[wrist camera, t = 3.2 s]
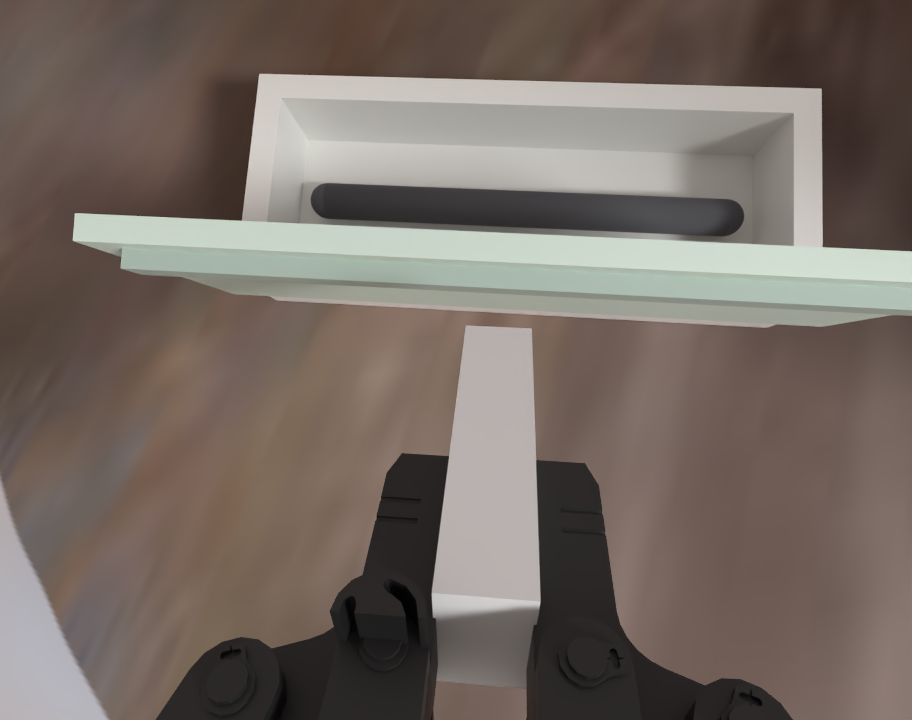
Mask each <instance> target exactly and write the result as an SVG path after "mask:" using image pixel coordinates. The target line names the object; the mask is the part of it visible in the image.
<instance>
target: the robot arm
mask: <svg viewBox="0 0 912 720" xmlns="http://www.w3.org/2000/svg"><path fill="white" fill-rule="evenodd" d="M330 613H331V617H332V621H333V624H334V627H333V628H332V629H330V630H329V631H327V632H326V633H324V634H322V635H319V636H316V637H314V638H311V639H308V640H304V641H300V642H296V643H292V644H288V645H284V646H280V647H276V648H272V649H271V648H270V647H269V646H267V645H266V644H264V643H263V642H261V641H260V640H258V639H251V638H243V637H240V638H236V639H232V640H228V641H224V642H222V643H220V644H218V645H217V646H215V647H214V648H212V649H210V650H209V651H207V652H206V653H204V654H203V655H202V656H201V658H200V659H199V660H198V661H197V662H196V663H195V664H194V665H193V666H192V668H191V669H190V670H189V671H188V673H187V674H186V676H185V677H184V679H183V680H182V682H181V683H180V685H179V686H178V688H177V689H176V691H175V692H174V693H173V695H172V696H171V698H170V699H169V701H168V702H167V704H166V705H165V707H164V708H163V710H162V711H161V713H160V714H159V716H158V717H157V719H156V720H434V716H433V706H434V696H435V687H436V681H446V682H457V683H468V684H480V685H491V686H502V687H513V688H524V689H526V686H527V719H526V720H793V719H792V718H791V717H790V715H789V714H788V713H787V711H786V710H785V709H784V707H783V706H782V705H781V703H780V702H778V701H777V700H776V699H774V698H773V697H772V696H771V695H769V694H768V693H767V692H766V691H764V690H763V689H762V688H760V687H758V686H755V685H753V684H751V683H748V682H746V681H743V680H741V679H722V678H721V679H719V680H717V681H714V682H712V683H710V684H708V685H706V686H705V685H702V684H700V683H698V682H695V681H693V680H691V679H688V678H686V677H684V676H681V675H679V674H677V673H674V672H672V671H669V670H667V669H665V668H663V667H661V666H659V665H657V664H656V663H654V662H652V661H650V660H649V659H648V658H646V657H645V656H644V655H643V654H642V653H640V652H639V651H638V650H637V649H636V648H635V647H634V645H633V644H632V643H631V642H630V640H629V639H628V638H627V636H626V635H625V633H624V631H623V629H622V627H621V625H620V622H619V618H618V615H617V611H616V604H615V596H614V589H613V582H612V575H611V568H610V561H609V554H608V547H607V540H606V536H605V526H604V519H603V515H602V505H601V498H600V491H599V485H598V483H597V482H596V480H595V479H594V477H593V476H592V474H591V473H590V471H589V469H588V468H587V466H586V465H585V463H571V462H555V461H539V460H536V445H535V415H534V385H533V354H532V329H529V328H508V327H486V326H466V329H465V337H464V345H463V353H462V360H461V368H460V376H459V384H458V392H457V399H456V407H455V415H454V423H453V430H452V438H451V446H450V454H449V456H436V455H420V454H404V453H402V454H401V455H400V457H399V458H398V459H397V461H396V462H395V463H394V464H393V466H392V467H391V468H390V470H389V471H388V472H387V474H386V479H385V483H384V487H383V491H382V496H381V501H380V504H379V508H378V512H377V519H376V521H375V525H374V529H373V533H372V538H371V542H370V546H369V550H368V555H367V559H366V563H365V567H364V571H363V575H362V576H360V577H358V578H355V579H353V580H352V581H351V582H349V583H348V584H347V585H346V586H345V587H344V588H343V589H342V590H341V591H340V592H339V593H338V595H337V597H336V599H335V601H334V603H333V605H332V607H331V610H330Z"/></svg>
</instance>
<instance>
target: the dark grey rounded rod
mask: <svg viewBox="0 0 912 720" xmlns="http://www.w3.org/2000/svg"><path fill="white" fill-rule="evenodd" d="M311 205H312V208H313V210H314V211H315V212H316V213H317V214H318V215H319V216H321V217H323V218H326V219H343V220H365V221H387V222H410V223H432V224H454V225H476V226H499V227H521V228H543V229H565V230H588V231H610V232H632V233H655V234H677V235H699V236H728V235H731V234H733V233H735V232H736V231H737V230H738V229H739V228H740V227H741V225H742V223H743V221H744V211H743V209H742V207H741V206H740V204H739V203H737V202H736V201H733V200H730V199H713V198H688V197H663V196H638V195H614V194H589V193H564V192H539V191H514V190H489V189H465V188H440V187H415V186H390V185H365V184H340V183H324V184H320V185H319V186H317V187H316V188H315V189H314V190H313V192H312V195H311Z"/></svg>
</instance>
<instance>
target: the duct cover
mask: <svg viewBox="0 0 912 720" xmlns="http://www.w3.org/2000/svg"><path fill="white" fill-rule="evenodd" d="M73 241H74V242H77V243H80V244H83V245H86V246H89V247H92V248H96V249H99V250H102V251H105V252H108V253H111V254H114V255H117V256H120V257H121V269H124V270H127V271H131V272H134V273H137V274H141V275H157V276H175V277H184V278H187V279H190V280H193V281H196V282H199V283H202V284H205V285H208V286H211V287H214V288H217V289H220V290H223V291H226V292H229V293H232V294H241V295H259V296H277V297H295V298H314V299H332V300H350V301H368V302H386V303H404V304H422V305H440V306H458V307H476V308H494V309H512V310H530V311H548V312H566V313H584V314H602V315H620V316H638V317H657V318H675V319H693V320H711V321H729V322H747V323H765V324H783V325H801V326H819V327H823V326H829V325H835V324H841V323H847V322H853V321H860V320H866V319H872V318H878V317H884V316H890V315H904V316H912V251H891V250H869V249H848V248H826V247H804V246H782V245H760V244H738V243H716V242H694V241H672V240H651V239H629V238H607V237H585V236H563V235H541V234H519V233H497V232H476V231H454V230H432V229H410V228H388V227H366V226H344V225H322V224H300V223H279V222H257V221H235V220H213V219H191V218H169V217H147V216H125V215H103V214H82V213H75V219H74V231H73Z"/></svg>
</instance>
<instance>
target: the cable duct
mask: <svg viewBox="0 0 912 720" xmlns="http://www.w3.org/2000/svg"><path fill="white" fill-rule="evenodd" d="M324 183H340V184H365V185H390V186H415V187H440V188H465V189H489V190H514V191H539V192H564V193H589V194H614V195H638V196H663V197H688V198H713V199H730V200H733V201H736V202H737V203H739V204H740V206H741V207H742V209H743V211H744V221H743V223H742V225H741V227H740V228H739V229H738V230H737V231H736V232H735V233H733V234H731V235H728V236H699V235H677V234H655V233H632V232H610V231H588V230H565V229H543V228H521V227H499V226H476V225H454V224H432V223H410V222H387V221H365V220H343V219H326V218H323V217H321V216H319V215H318V214H317V213H316V212H315V211H314V210H313V208H312V205H311V195H312V192H313V190H314V189H315V188H316V187H317V186H319V185H320V184H324ZM242 221H257V222H279V223H300V224H322V225H344V226H366V227H388V228H410V229H432V230H454V231H476V232H497V233H519V234H541V235H563V236H585V237H607V238H629V239H651V240H672V241H694V242H716V243H738V244H760V245H782V246H804V247H823V224H822V89H817V88H779V87H741V86H703V85H665V84H627V83H589V82H551V81H513V80H475V79H437V78H399V77H361V76H323V75H285V74H259V81H258V90H257V98H256V106H255V115H254V123H253V132H252V140H251V148H250V157H249V165H248V173H247V182H246V190H245V199H244V207H243V215H242ZM270 297H271V298H273V299H275V300H279V301H297V302H315V303H333V304H350V305H368V306H386V307H404V308H422V309H440V310H458V311H476V312H494V313H511V314H529V315H547V316H565V317H583V318H601V319H619V320H637V321H655V322H672V323H690V324H708V325H726V326H744V327H762V328H768V327H771V326H773V325H776V324H765V323H747V322H729V321H711V320H693V319H675V318H657V317H638V316H620V315H602V314H584V313H566V312H548V311H530V310H512V309H494V308H476V307H458V306H440V305H422V304H404V303H386V302H368V301H350V300H332V299H314V298H295V297H277V296H270Z"/></svg>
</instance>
